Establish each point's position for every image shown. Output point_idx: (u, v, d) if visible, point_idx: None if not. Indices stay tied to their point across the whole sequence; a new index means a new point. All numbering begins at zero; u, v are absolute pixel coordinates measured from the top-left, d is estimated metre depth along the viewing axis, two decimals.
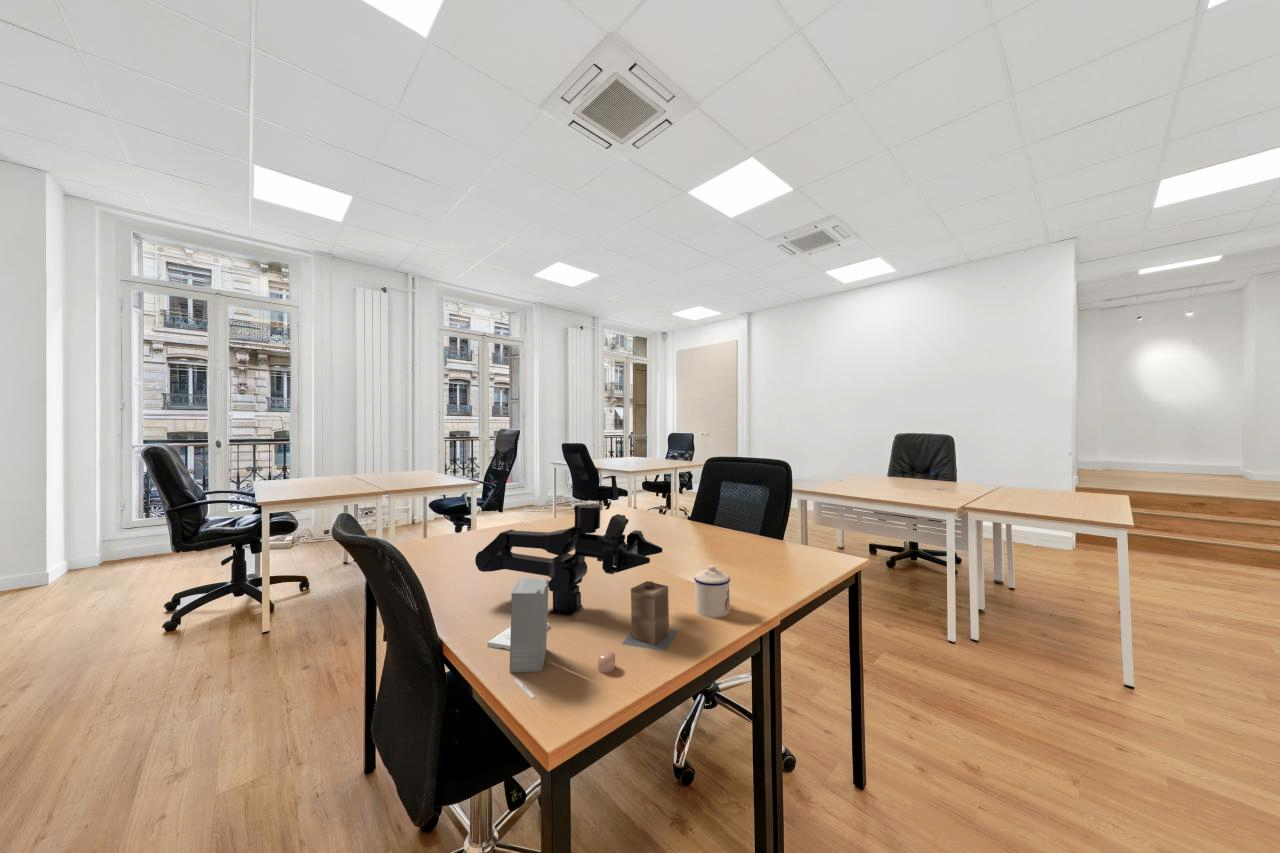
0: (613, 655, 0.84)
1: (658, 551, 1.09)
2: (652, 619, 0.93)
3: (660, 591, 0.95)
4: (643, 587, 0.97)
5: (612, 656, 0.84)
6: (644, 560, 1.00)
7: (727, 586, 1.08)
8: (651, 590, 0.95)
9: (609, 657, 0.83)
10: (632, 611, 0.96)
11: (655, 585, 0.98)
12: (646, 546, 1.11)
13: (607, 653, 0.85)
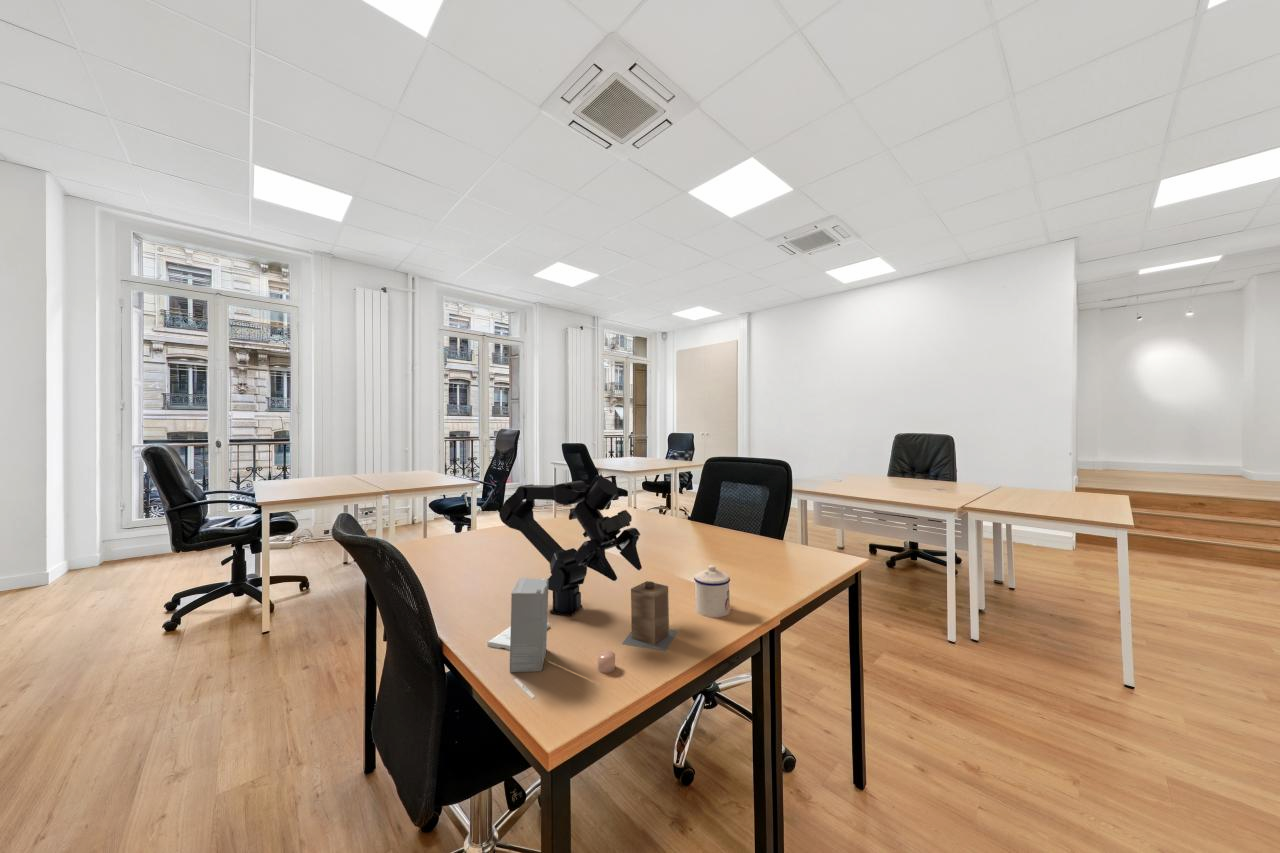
0: (613, 655, 0.84)
1: (636, 567, 1.05)
2: (652, 619, 0.93)
3: (660, 591, 0.95)
4: (643, 587, 0.97)
5: (612, 656, 0.84)
6: (611, 576, 0.97)
7: (727, 586, 1.08)
8: (651, 590, 0.95)
9: (609, 657, 0.83)
10: (632, 611, 0.96)
11: (655, 585, 0.98)
12: (631, 554, 1.06)
13: (607, 653, 0.85)
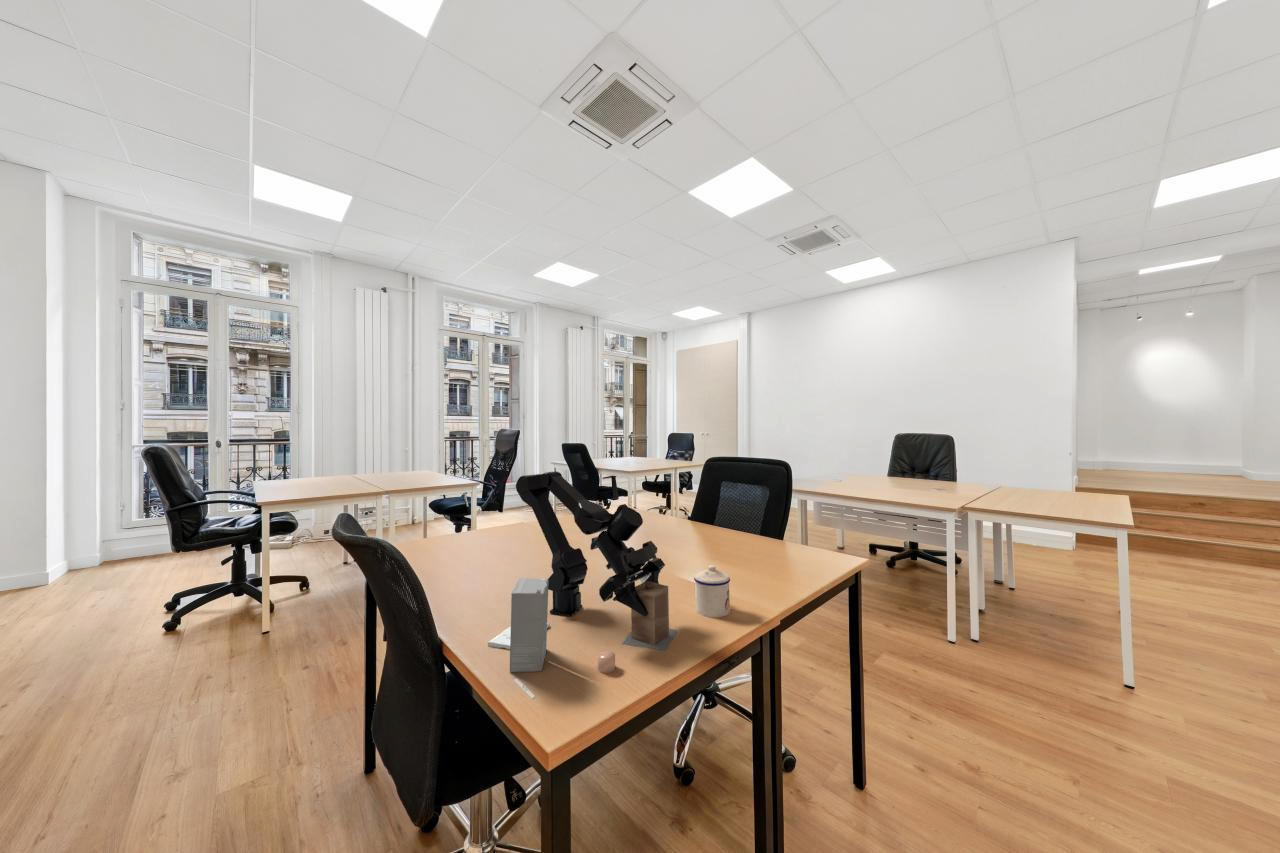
0: (613, 655, 0.84)
1: None
2: (652, 619, 0.93)
3: (660, 591, 0.95)
4: (643, 587, 0.97)
5: (612, 656, 0.84)
6: (642, 611, 0.94)
7: (727, 586, 1.08)
8: (651, 590, 0.95)
9: (609, 657, 0.83)
10: (632, 611, 0.96)
11: (655, 585, 0.98)
12: None
13: (607, 653, 0.85)
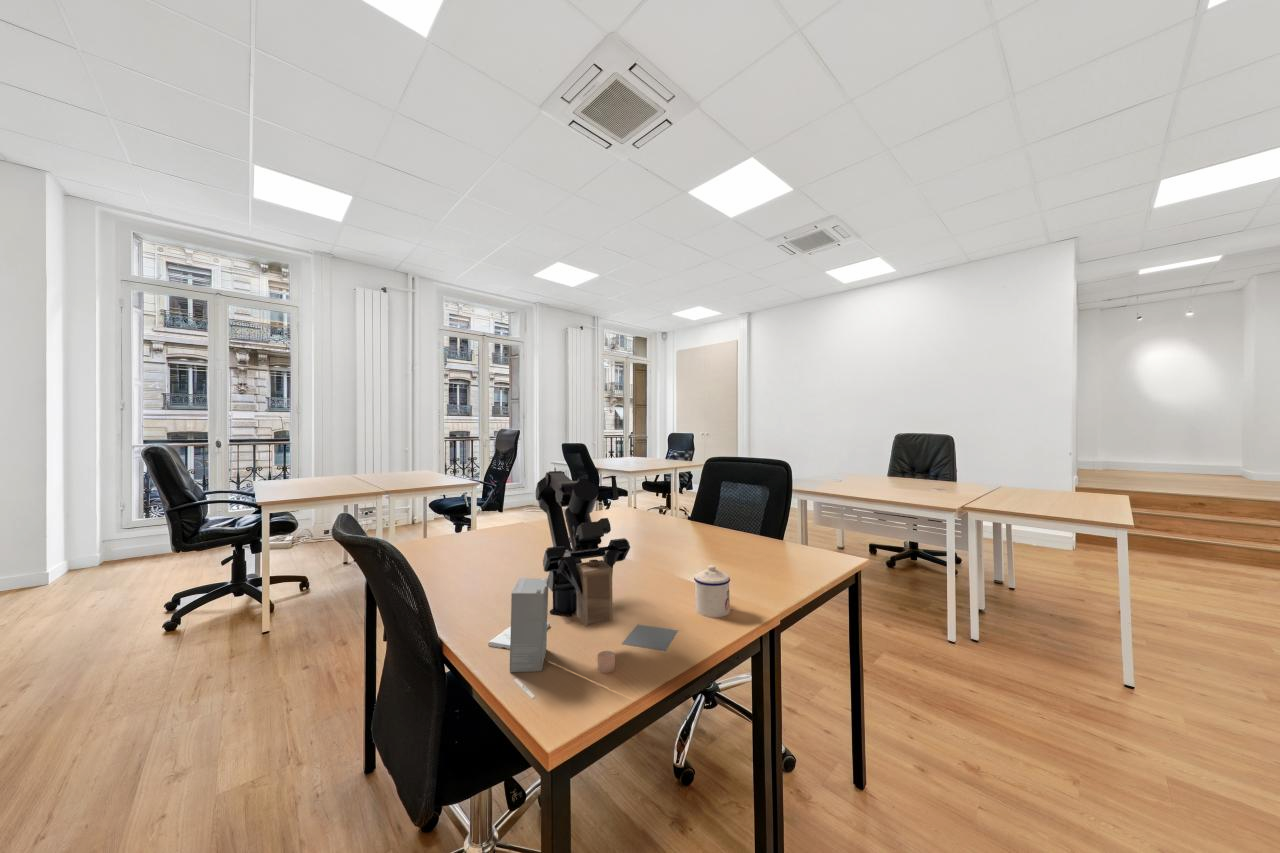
0: (613, 655, 0.84)
1: None
2: (584, 598, 0.88)
3: (597, 571, 0.89)
4: (588, 564, 0.92)
5: (612, 656, 0.84)
6: (577, 588, 0.90)
7: (727, 586, 1.08)
8: (589, 568, 0.90)
9: (609, 657, 0.83)
10: None
11: (602, 565, 0.92)
12: None
13: (607, 653, 0.85)
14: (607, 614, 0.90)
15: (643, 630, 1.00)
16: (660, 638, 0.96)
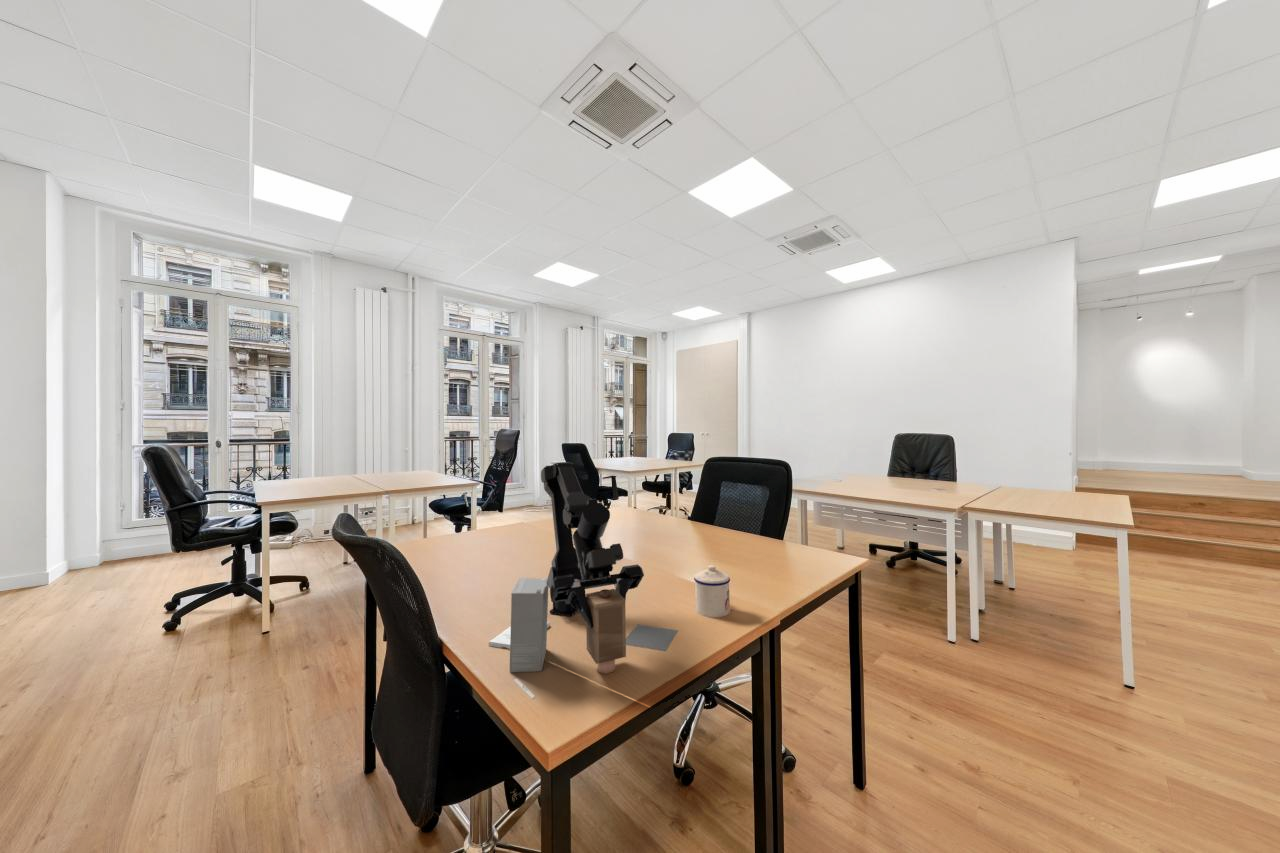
0: None
1: None
2: (595, 633, 0.81)
3: (609, 603, 0.82)
4: (599, 595, 0.85)
5: None
6: (588, 621, 0.82)
7: (727, 586, 1.08)
8: (601, 600, 0.83)
9: None
10: None
11: (614, 595, 0.85)
12: None
13: None
14: (620, 650, 0.82)
15: (643, 630, 1.00)
16: (660, 638, 0.96)
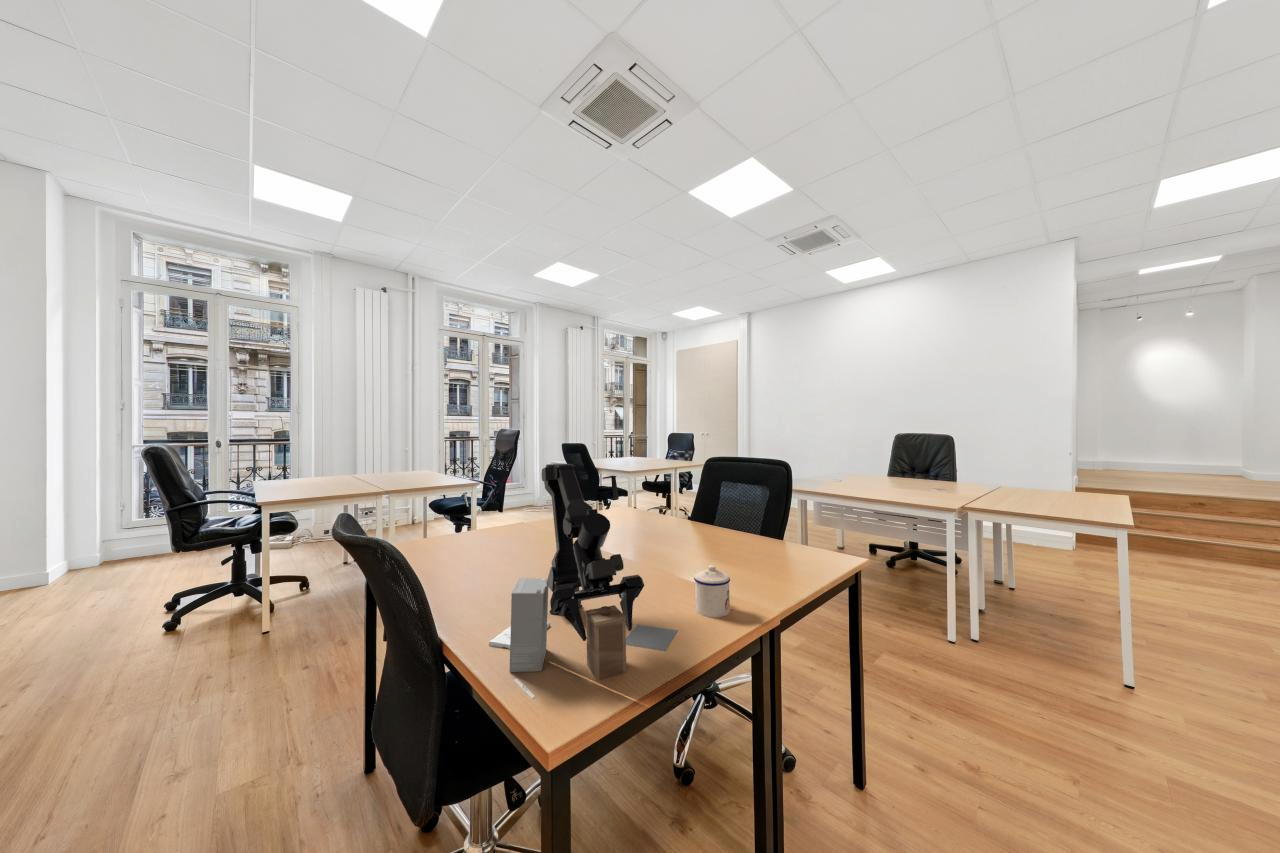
0: None
1: (627, 626, 0.86)
2: (595, 651, 0.81)
3: (609, 621, 0.82)
4: (599, 612, 0.85)
5: None
6: (581, 634, 0.82)
7: (727, 586, 1.08)
8: (601, 617, 0.83)
9: None
10: (587, 636, 0.86)
11: (614, 612, 0.85)
12: (625, 608, 0.88)
13: None
14: (620, 667, 0.82)
15: (643, 630, 1.00)
16: (660, 638, 0.96)
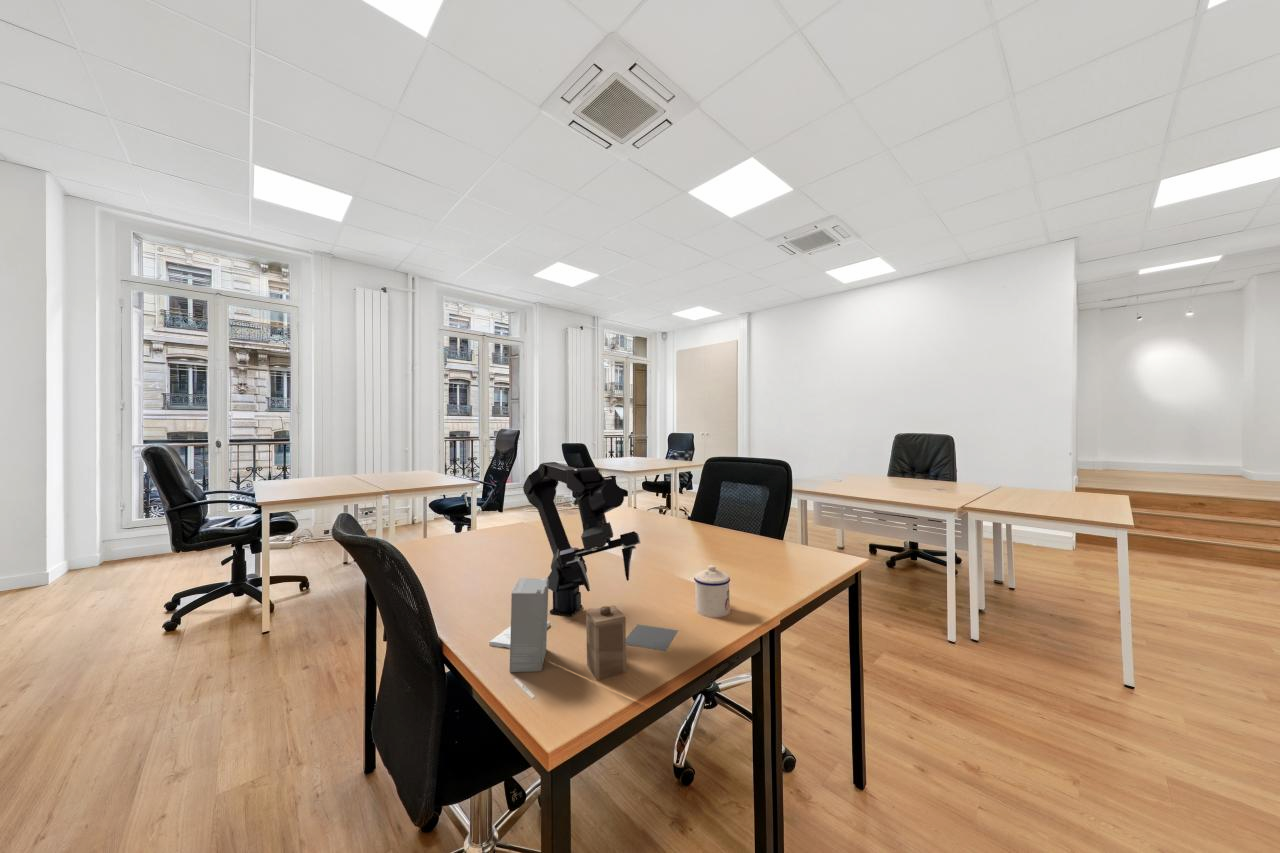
0: None
1: None
2: (595, 651, 0.81)
3: (609, 621, 0.82)
4: (599, 612, 0.85)
5: None
6: None
7: (727, 586, 1.08)
8: (601, 617, 0.83)
9: None
10: (587, 636, 0.86)
11: (614, 612, 0.85)
12: None
13: None
14: (620, 667, 0.82)
15: (643, 630, 1.00)
16: (660, 638, 0.96)
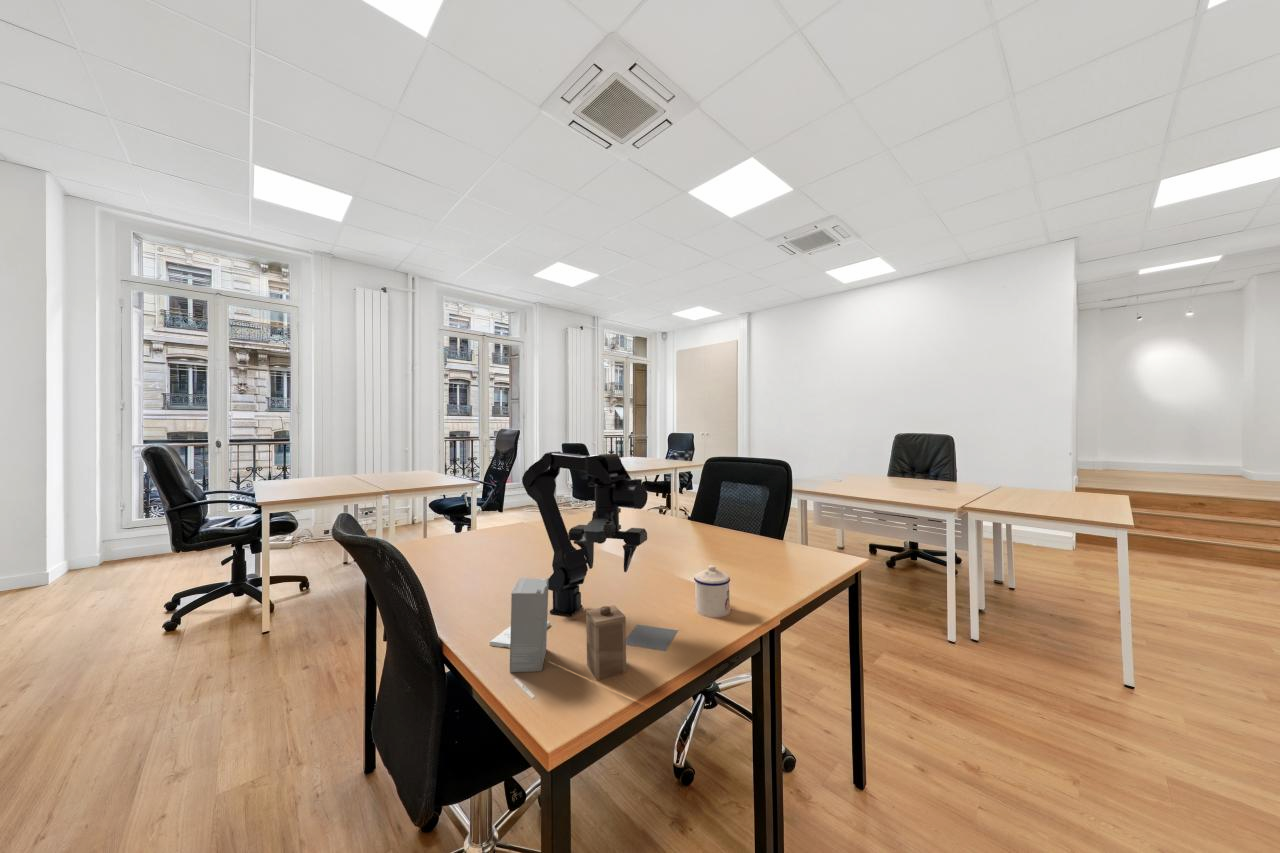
0: None
1: None
2: (595, 651, 0.81)
3: (609, 621, 0.82)
4: (599, 612, 0.85)
5: None
6: None
7: (727, 586, 1.08)
8: (601, 617, 0.83)
9: None
10: (587, 636, 0.86)
11: (614, 612, 0.85)
12: None
13: None
14: (620, 667, 0.82)
15: (643, 630, 1.00)
16: (660, 638, 0.96)
